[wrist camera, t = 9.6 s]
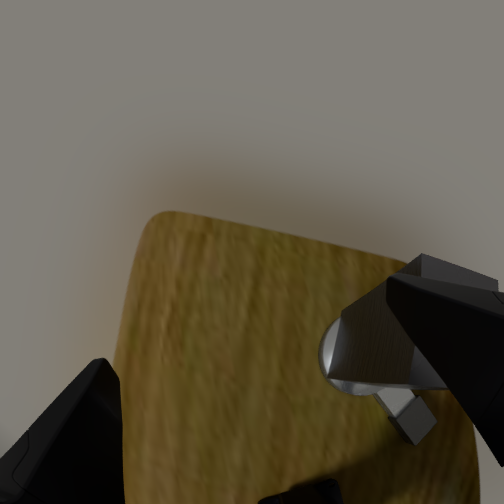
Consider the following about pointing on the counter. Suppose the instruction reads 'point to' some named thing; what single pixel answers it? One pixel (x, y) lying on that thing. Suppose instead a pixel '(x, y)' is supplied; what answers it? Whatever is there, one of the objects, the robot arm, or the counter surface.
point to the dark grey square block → (392, 334)
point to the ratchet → (382, 395)
